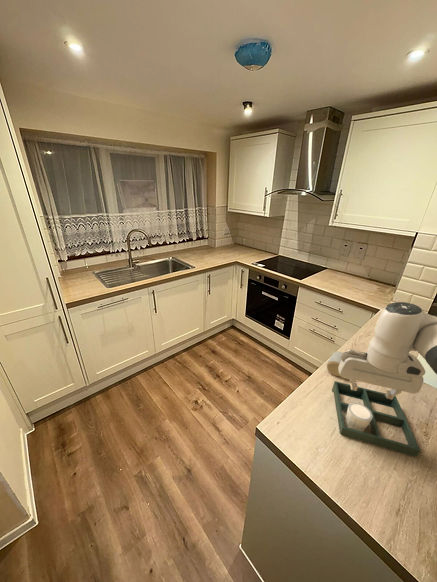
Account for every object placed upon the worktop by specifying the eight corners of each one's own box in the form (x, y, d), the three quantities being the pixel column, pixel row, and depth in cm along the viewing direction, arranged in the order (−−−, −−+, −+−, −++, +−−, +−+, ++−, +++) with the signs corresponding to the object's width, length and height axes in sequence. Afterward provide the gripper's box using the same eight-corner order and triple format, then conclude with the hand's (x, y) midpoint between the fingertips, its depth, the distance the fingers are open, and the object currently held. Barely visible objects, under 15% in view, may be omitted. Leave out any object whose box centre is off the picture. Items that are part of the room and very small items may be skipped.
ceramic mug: (323, 371, 101) (328, 357, 97) (329, 362, 106) (333, 348, 103) (350, 384, 95) (356, 370, 91) (355, 373, 100) (360, 359, 97)
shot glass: (348, 413, 81) (353, 398, 79) (369, 427, 77) (376, 412, 74) (339, 424, 77) (344, 409, 74) (361, 440, 73) (367, 425, 70)
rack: (391, 404, 86) (395, 395, 84) (414, 460, 68) (420, 450, 66) (331, 389, 92) (334, 380, 90) (338, 437, 74) (342, 427, 72)
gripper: (345, 355, 65) (334, 391, 71) (433, 373, 60) (413, 411, 65) (342, 342, 71) (332, 377, 77) (422, 357, 65) (405, 394, 71)
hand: (370, 393), depth 71 cm, fingers open, 8 cm apart
